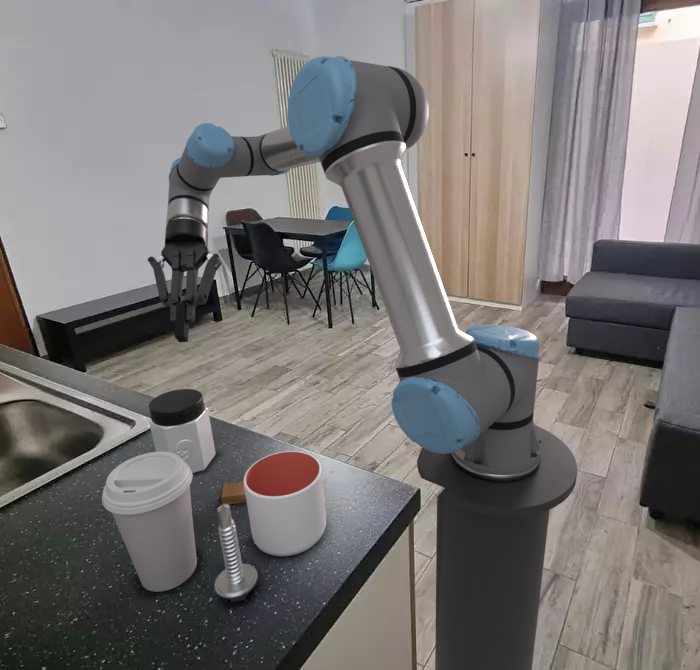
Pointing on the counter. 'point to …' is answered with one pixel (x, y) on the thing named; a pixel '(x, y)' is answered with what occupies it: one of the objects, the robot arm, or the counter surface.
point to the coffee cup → (154, 517)
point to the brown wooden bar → (233, 493)
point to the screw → (232, 562)
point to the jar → (183, 427)
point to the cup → (285, 502)
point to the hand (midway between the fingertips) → (181, 338)
